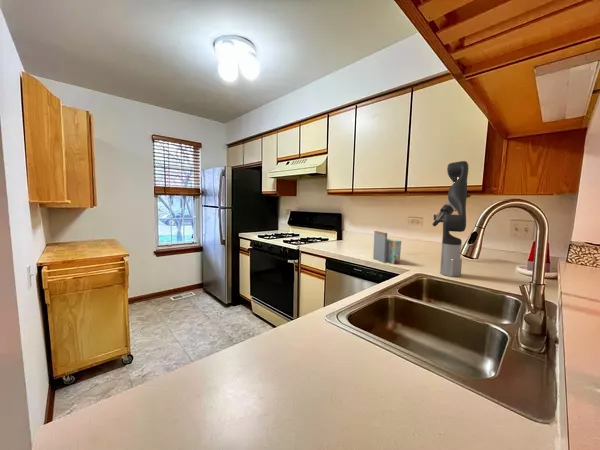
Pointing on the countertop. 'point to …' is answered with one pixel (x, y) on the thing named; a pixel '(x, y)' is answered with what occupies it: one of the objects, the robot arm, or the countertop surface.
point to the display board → (380, 246)
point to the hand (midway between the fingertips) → (433, 225)
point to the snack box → (393, 251)
